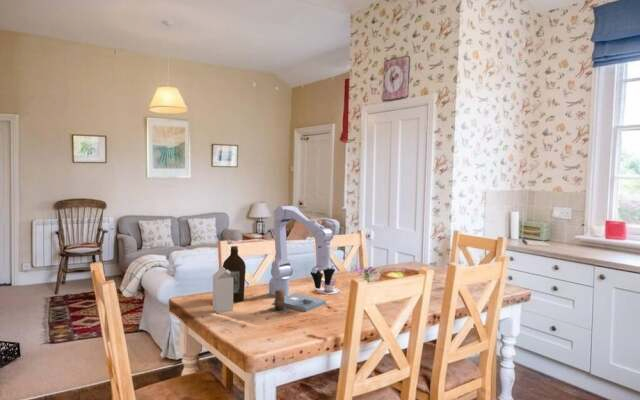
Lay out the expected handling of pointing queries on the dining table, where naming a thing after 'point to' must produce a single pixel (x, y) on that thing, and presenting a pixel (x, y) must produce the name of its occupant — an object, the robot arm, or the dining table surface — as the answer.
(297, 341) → the dining table surface
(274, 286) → the robot arm
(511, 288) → the dining table surface
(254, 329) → the dining table surface
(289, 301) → the hole plate
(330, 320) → the dining table surface
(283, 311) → the pad
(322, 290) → the teacup
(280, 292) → the walnut peg
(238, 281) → the olive oil
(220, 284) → the milk carton
